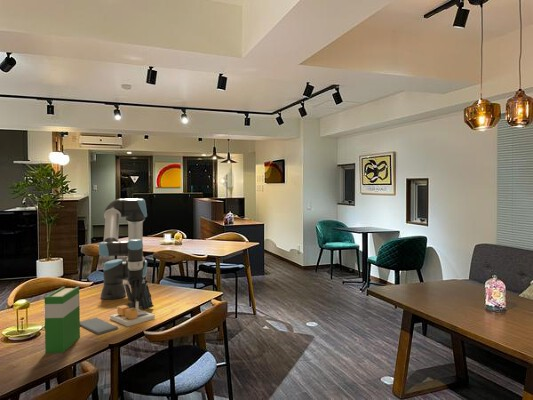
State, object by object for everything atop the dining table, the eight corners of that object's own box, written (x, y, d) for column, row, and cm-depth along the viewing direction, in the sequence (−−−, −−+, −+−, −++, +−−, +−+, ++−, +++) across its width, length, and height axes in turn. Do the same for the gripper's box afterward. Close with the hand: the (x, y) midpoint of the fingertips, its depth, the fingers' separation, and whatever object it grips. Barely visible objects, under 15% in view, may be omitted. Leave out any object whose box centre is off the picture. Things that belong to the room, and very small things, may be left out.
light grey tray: (110, 319, 211) (110, 315, 211) (137, 312, 223) (137, 308, 223) (127, 326, 200) (127, 322, 200) (154, 318, 212) (154, 314, 212)
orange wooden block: (117, 314, 212) (117, 306, 212) (124, 312, 215) (124, 304, 215) (122, 315, 209) (122, 308, 208) (129, 314, 212) (129, 306, 212)
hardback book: (63, 337, 185) (62, 286, 184) (79, 337, 186) (79, 286, 185) (45, 353, 167) (44, 297, 167) (63, 352, 168) (62, 296, 167)
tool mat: (77, 324, 203) (77, 322, 203) (96, 319, 211) (96, 317, 211) (98, 334, 189) (98, 332, 189) (117, 328, 196) (117, 326, 196)
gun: (124, 283, 233) (147, 278, 230) (131, 311, 233) (154, 306, 229) (122, 284, 230) (144, 279, 227) (129, 312, 230) (152, 307, 227)
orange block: (125, 317, 207) (125, 309, 206) (132, 315, 210) (132, 307, 209) (130, 319, 203) (130, 311, 203) (137, 317, 206) (137, 309, 206)
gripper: (128, 271, 200) (128, 318, 201) (150, 267, 210) (150, 311, 211) (120, 269, 205) (120, 314, 206) (142, 266, 215) (142, 309, 216)
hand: (135, 313), depth 208 cm, fingers closed
